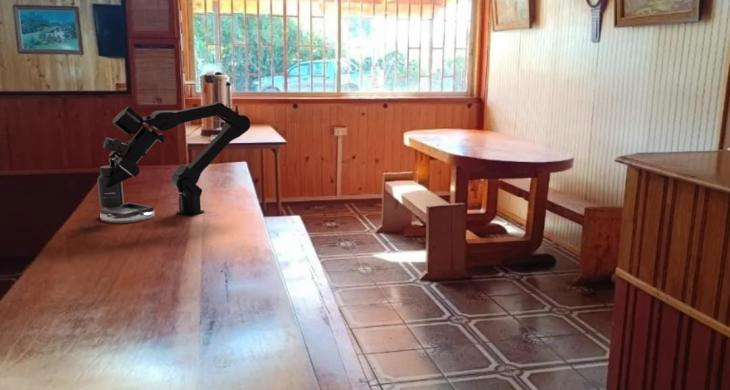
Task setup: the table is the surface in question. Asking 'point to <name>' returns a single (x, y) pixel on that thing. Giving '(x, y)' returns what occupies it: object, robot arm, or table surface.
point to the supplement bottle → (109, 189)
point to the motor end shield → (127, 213)
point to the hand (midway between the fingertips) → (105, 184)
